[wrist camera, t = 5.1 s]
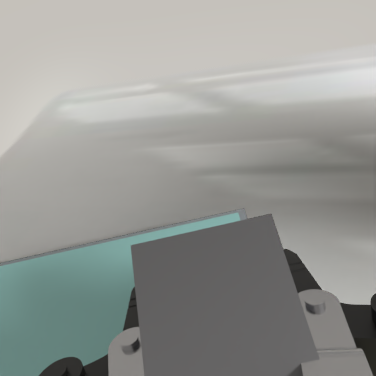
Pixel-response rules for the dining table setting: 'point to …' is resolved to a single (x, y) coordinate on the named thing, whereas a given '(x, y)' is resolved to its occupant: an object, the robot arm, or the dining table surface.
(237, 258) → the lid
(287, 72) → the dining table surface
